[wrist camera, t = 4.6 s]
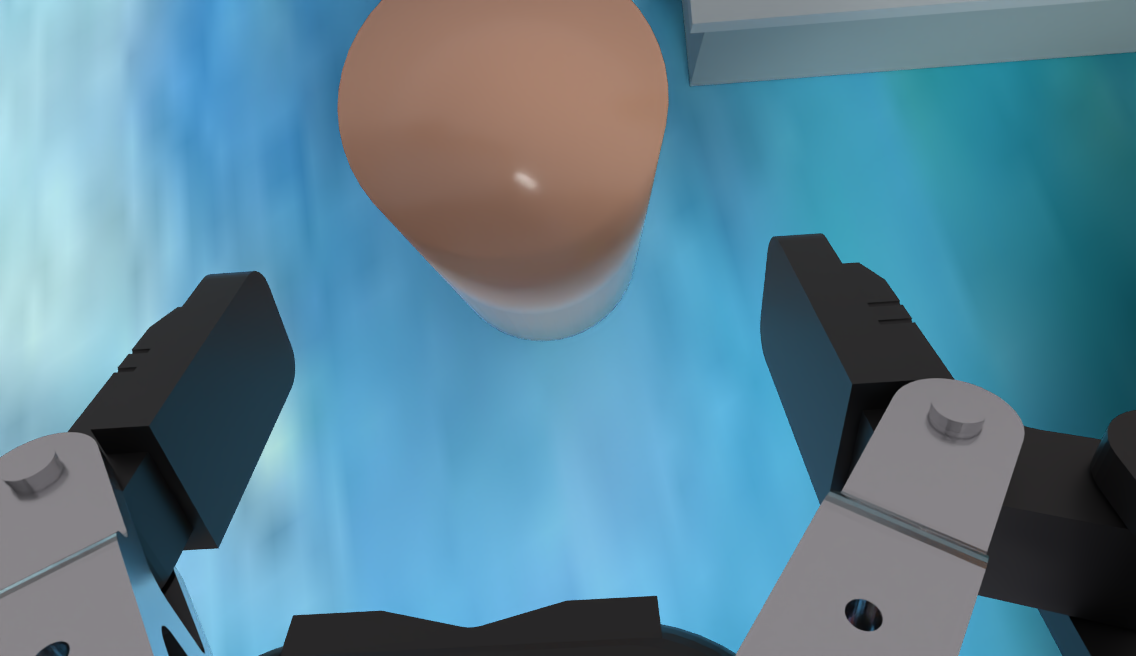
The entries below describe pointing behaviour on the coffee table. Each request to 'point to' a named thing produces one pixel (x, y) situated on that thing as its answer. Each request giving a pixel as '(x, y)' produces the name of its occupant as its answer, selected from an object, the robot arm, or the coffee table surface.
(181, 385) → the robot arm
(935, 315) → the coffee table surface
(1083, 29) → the podium
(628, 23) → the canister
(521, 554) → the coffee table surface
